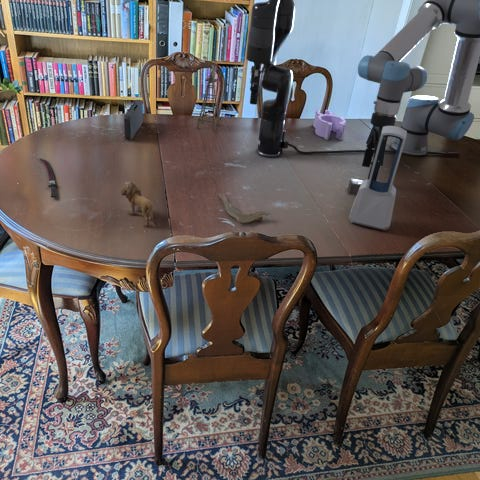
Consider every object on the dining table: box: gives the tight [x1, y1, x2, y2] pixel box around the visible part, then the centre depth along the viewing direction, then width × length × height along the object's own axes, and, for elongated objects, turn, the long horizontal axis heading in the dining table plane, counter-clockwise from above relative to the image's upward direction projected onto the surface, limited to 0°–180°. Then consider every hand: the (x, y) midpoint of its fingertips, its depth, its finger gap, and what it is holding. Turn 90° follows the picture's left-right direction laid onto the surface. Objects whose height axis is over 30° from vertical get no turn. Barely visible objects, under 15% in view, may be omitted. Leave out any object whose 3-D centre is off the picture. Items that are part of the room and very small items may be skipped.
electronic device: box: [348, 125, 407, 232], centre depth 137 cm, size 12×8×30 cm, turn 71°
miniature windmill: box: [196, 55, 220, 132], centre depth 197 cm, size 9×8×30 cm
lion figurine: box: [119, 181, 159, 227], centre depth 134 cm, size 15×5×9 cm, turn 50°
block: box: [347, 178, 364, 196], centre depth 162 cm, size 4×4×4 cm
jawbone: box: [218, 193, 271, 225], centre depth 143 cm, size 9×20×2 cm, turn 50°
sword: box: [40, 158, 59, 198], centre depth 151 cm, size 31×3×1 cm, turn 26°
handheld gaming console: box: [123, 99, 144, 141], centre depth 190 cm, size 23×3×10 cm, turn 178°
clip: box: [313, 109, 347, 141], centre depth 212 cm, size 20×12×7 cm, turn 11°
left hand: (254, 100), depth 143 cm, fingers open, 8 cm apart
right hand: (368, 174), depth 160 cm, fingers open, 13 cm apart
